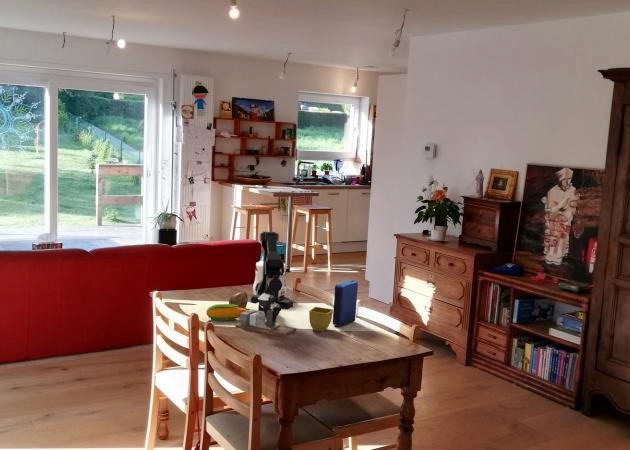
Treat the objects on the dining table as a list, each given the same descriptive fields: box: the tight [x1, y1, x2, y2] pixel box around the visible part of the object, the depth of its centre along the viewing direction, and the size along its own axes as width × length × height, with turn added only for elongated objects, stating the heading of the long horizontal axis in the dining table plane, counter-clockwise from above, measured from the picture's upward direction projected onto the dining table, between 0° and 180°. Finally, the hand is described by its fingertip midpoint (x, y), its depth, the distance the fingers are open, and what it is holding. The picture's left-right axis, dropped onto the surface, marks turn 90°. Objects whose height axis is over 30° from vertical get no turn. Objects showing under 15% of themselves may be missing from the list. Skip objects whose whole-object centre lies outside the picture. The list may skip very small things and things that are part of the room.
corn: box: [206, 303, 248, 321], centre depth 314 cm, size 7×8×20 cm
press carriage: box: [249, 308, 281, 330], centre depth 303 cm, size 8×11×8 cm
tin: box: [228, 291, 249, 309], centre depth 329 cm, size 15×3×8 cm, turn 158°
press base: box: [234, 308, 297, 338], centre depth 303 cm, size 12×24×6 cm, turn 63°
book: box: [332, 279, 359, 327], centre depth 316 cm, size 14×5×20 cm, turn 145°
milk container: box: [252, 260, 287, 300], centre depth 356 cm, size 17×17×18 cm
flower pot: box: [308, 306, 334, 332], centre depth 306 cm, size 9×9×9 cm
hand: (270, 320), depth 302 cm, fingers closed on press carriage, 3 cm apart
